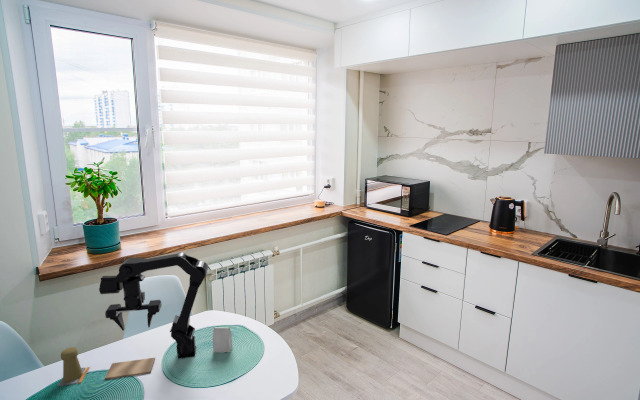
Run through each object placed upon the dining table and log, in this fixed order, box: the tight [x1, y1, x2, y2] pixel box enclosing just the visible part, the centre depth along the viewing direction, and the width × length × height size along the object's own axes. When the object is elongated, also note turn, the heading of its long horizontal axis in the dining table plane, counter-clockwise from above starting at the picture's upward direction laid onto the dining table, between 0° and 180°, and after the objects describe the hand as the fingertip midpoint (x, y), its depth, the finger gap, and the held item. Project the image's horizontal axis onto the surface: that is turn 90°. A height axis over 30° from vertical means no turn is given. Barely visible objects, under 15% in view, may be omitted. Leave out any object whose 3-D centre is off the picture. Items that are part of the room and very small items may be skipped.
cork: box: [60, 346, 84, 382], centre depth 132 cm, size 6×6×11 cm
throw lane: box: [57, 357, 156, 387], centre depth 136 cm, size 31×8×1 cm, turn 103°
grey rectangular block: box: [212, 326, 233, 353], centre depth 149 cm, size 4×7×10 cm, turn 88°
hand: (136, 328), depth 142 cm, fingers open, 9 cm apart
